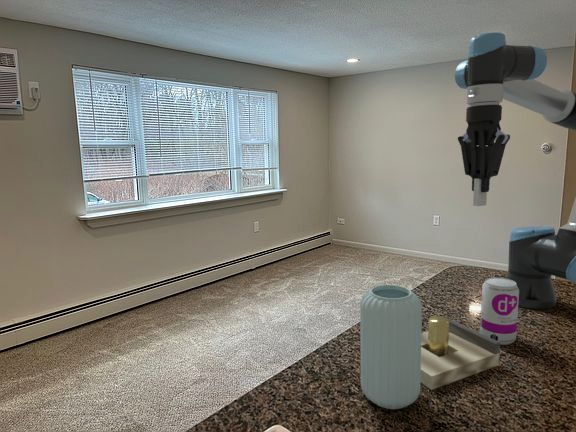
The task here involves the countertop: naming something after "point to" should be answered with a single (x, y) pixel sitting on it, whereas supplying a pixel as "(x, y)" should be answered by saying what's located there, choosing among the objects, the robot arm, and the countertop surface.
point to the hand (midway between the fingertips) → (479, 205)
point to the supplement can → (499, 310)
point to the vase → (390, 346)
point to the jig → (458, 356)
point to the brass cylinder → (438, 335)
